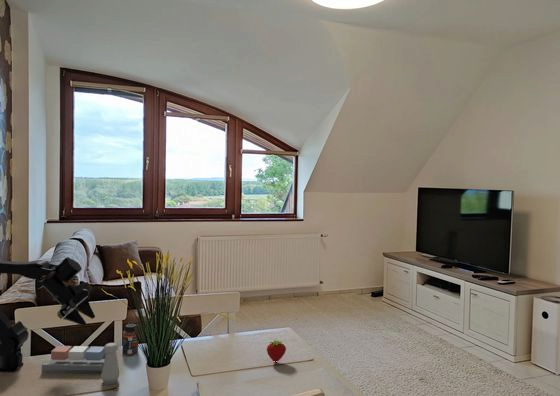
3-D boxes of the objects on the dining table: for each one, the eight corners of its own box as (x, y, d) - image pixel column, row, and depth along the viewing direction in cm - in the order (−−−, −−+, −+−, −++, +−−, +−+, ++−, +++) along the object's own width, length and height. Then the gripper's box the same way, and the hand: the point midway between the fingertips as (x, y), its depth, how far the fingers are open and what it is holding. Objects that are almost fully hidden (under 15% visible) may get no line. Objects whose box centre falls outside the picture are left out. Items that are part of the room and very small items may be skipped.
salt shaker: (112, 387, 141) (113, 348, 140) (97, 384, 142) (98, 346, 141) (122, 379, 146) (123, 342, 146) (107, 376, 148) (108, 340, 147)
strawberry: (287, 365, 163) (288, 339, 162) (267, 366, 161) (269, 340, 160) (283, 358, 168) (284, 334, 168) (264, 360, 166) (265, 335, 166)
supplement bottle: (133, 357, 164) (134, 328, 163) (119, 355, 165) (119, 327, 164) (140, 351, 170) (141, 323, 169) (127, 349, 171) (127, 322, 170)
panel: (41, 373, 148) (41, 364, 148) (57, 359, 160) (57, 350, 160) (100, 374, 149) (100, 365, 149) (112, 359, 161) (112, 351, 161)
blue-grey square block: (85, 360, 152) (85, 352, 152) (91, 354, 157) (91, 346, 157) (100, 360, 152) (100, 352, 152) (104, 354, 157) (105, 346, 157)
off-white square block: (68, 359, 151) (68, 351, 151) (74, 354, 156) (74, 346, 156) (82, 360, 152) (82, 351, 152) (88, 354, 157) (88, 346, 157)
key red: (51, 359, 151) (51, 351, 151) (57, 353, 156) (57, 345, 156) (65, 359, 151) (65, 351, 151) (71, 354, 156) (71, 346, 156)
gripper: (85, 266, 151) (115, 298, 153) (69, 283, 163) (97, 313, 165) (59, 286, 143) (91, 320, 144) (44, 303, 155) (74, 334, 156)
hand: (89, 321), depth 153 cm, fingers open, 9 cm apart
